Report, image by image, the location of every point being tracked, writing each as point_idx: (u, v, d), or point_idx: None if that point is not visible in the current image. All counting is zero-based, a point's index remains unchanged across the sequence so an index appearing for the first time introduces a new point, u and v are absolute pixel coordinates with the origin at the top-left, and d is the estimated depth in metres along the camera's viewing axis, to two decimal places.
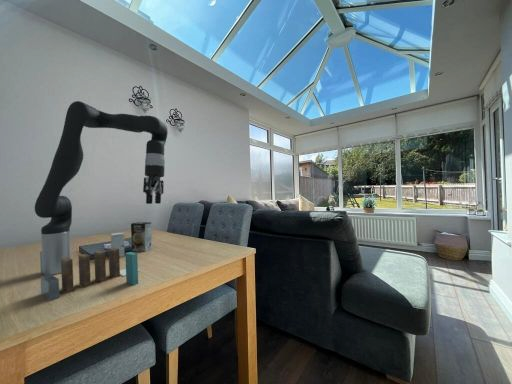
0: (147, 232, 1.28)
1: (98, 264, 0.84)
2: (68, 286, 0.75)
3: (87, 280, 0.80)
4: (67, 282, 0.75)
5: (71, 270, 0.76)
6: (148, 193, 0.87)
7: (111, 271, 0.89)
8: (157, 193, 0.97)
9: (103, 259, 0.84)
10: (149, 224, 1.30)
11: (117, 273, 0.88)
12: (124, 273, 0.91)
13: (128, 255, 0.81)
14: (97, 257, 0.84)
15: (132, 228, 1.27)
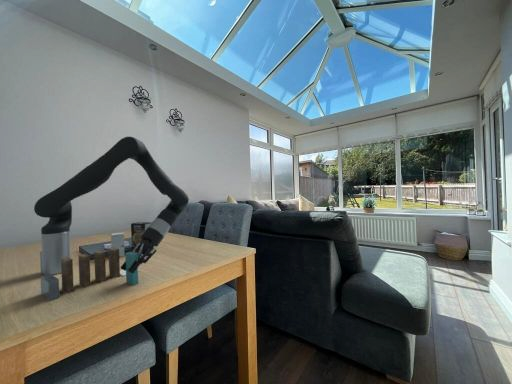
0: None
1: (98, 264, 0.84)
2: (68, 286, 0.75)
3: (87, 280, 0.80)
4: (67, 282, 0.75)
5: (71, 270, 0.76)
6: (140, 262, 0.80)
7: (111, 271, 0.89)
8: None
9: (103, 259, 0.84)
10: (149, 224, 1.30)
11: (117, 273, 0.88)
12: (124, 273, 0.91)
13: (128, 255, 0.81)
14: (97, 257, 0.84)
15: (132, 228, 1.27)
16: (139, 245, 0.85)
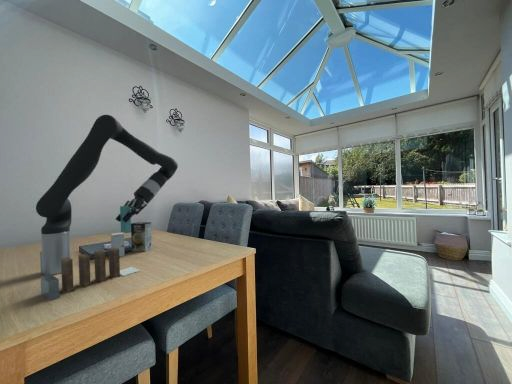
0: (147, 232, 1.28)
1: (98, 264, 0.84)
2: (68, 286, 0.75)
3: (87, 280, 0.80)
4: (67, 282, 0.75)
5: (71, 270, 0.76)
6: (133, 213, 0.92)
7: (111, 271, 0.89)
8: None
9: (103, 259, 0.84)
10: (149, 224, 1.30)
11: (117, 273, 0.88)
12: (124, 273, 0.91)
13: (122, 207, 0.93)
14: (97, 257, 0.84)
15: (132, 228, 1.27)
16: (132, 201, 0.97)
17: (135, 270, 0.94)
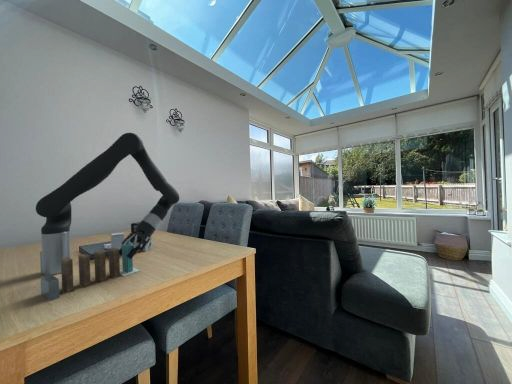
0: None
1: (98, 264, 0.84)
2: (68, 286, 0.75)
3: (87, 280, 0.80)
4: (67, 282, 0.75)
5: (71, 270, 0.76)
6: (137, 249, 0.92)
7: (111, 271, 0.89)
8: None
9: (103, 259, 0.84)
10: None
11: (117, 273, 0.88)
12: (124, 273, 0.91)
13: (124, 246, 0.93)
14: (97, 257, 0.84)
15: (132, 228, 1.27)
16: (133, 236, 0.97)
17: (135, 270, 0.94)
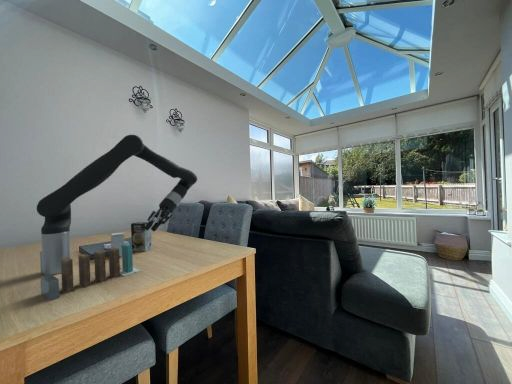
0: (147, 232, 1.28)
1: (98, 264, 0.84)
2: (68, 286, 0.75)
3: (87, 280, 0.80)
4: (67, 282, 0.75)
5: (71, 270, 0.76)
6: (160, 223, 1.02)
7: (111, 271, 0.89)
8: (151, 221, 1.06)
9: (103, 259, 0.84)
10: None
11: (117, 273, 0.88)
12: (124, 273, 0.91)
13: (124, 246, 0.93)
14: (97, 257, 0.84)
15: (132, 228, 1.27)
16: (158, 211, 1.07)
17: (135, 270, 0.94)
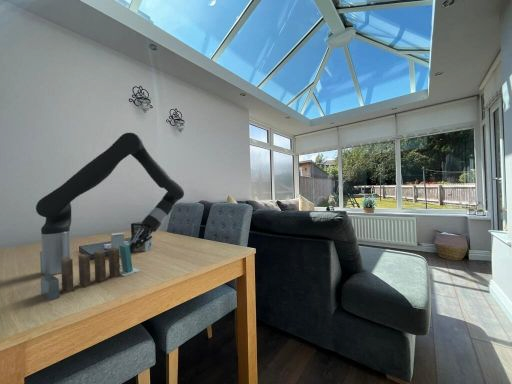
0: None
1: (98, 264, 0.84)
2: (68, 286, 0.75)
3: (87, 280, 0.80)
4: (67, 282, 0.75)
5: (71, 270, 0.76)
6: (137, 244, 0.96)
7: (111, 271, 0.89)
8: None
9: (103, 259, 0.84)
10: None
11: (117, 273, 0.88)
12: (124, 273, 0.91)
13: (121, 247, 0.92)
14: (97, 257, 0.84)
15: (132, 228, 1.27)
16: (140, 229, 0.99)
17: (135, 270, 0.94)
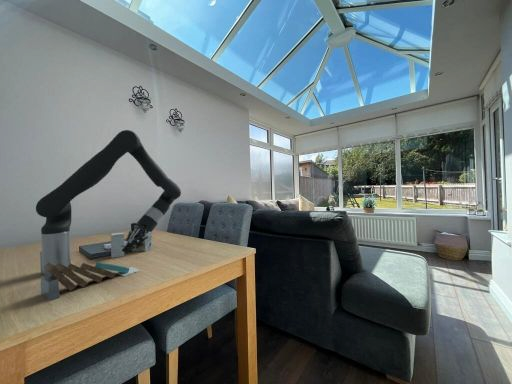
0: None
1: None
2: (68, 286, 0.75)
3: (81, 281, 0.78)
4: (64, 283, 0.75)
5: (60, 273, 0.74)
6: (133, 244, 0.94)
7: None
8: None
9: (81, 270, 0.78)
10: None
11: (111, 274, 0.86)
12: (124, 273, 0.91)
13: (98, 267, 0.85)
14: None
15: (132, 228, 1.27)
16: (136, 229, 0.98)
17: (135, 270, 0.94)
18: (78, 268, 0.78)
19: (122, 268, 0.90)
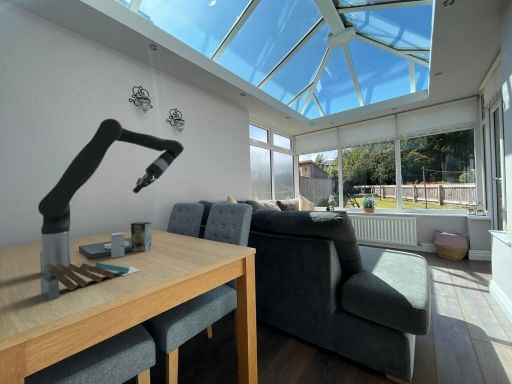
0: (147, 232, 1.28)
1: None
2: (69, 286, 0.75)
3: (81, 281, 0.78)
4: (65, 283, 0.75)
5: (60, 273, 0.74)
6: (142, 186, 1.08)
7: None
8: None
9: (81, 270, 0.78)
10: (149, 224, 1.30)
11: (111, 274, 0.86)
12: (124, 273, 0.91)
13: (98, 267, 0.85)
14: None
15: (132, 228, 1.27)
16: (145, 175, 1.12)
17: (135, 270, 0.94)
18: (78, 268, 0.78)
19: (122, 268, 0.90)
